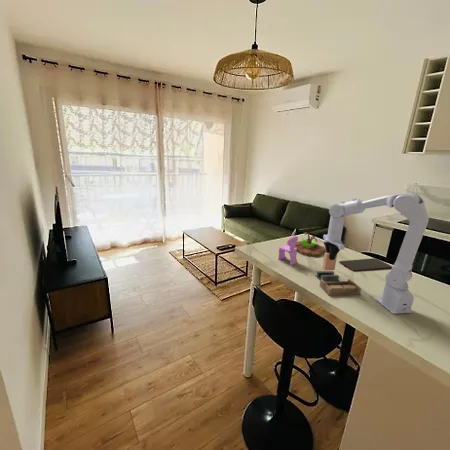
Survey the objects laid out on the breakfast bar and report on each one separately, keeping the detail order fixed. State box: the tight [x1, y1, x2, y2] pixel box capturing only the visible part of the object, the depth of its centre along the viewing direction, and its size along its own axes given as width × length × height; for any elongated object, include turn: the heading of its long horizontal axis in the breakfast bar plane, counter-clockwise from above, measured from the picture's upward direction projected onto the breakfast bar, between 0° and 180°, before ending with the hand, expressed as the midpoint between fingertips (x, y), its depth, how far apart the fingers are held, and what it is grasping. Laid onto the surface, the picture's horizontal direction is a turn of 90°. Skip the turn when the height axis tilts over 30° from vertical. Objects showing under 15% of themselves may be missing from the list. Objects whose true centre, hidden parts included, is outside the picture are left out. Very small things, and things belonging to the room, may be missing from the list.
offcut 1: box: [329, 285, 343, 290], centre depth 106 cm, size 2×5×3 cm, turn 97°
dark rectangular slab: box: [338, 257, 393, 273], centre depth 135 cm, size 12×2×25 cm
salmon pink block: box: [322, 252, 338, 271], centre depth 116 cm, size 2×5×8 cm, turn 97°
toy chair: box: [277, 235, 299, 266], centre depth 134 cm, size 8×9×15 cm
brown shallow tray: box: [319, 278, 362, 296], centre depth 108 cm, size 8×14×3 cm, turn 97°
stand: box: [314, 270, 340, 282], centre depth 118 cm, size 6×9×2 cm, turn 97°
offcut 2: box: [342, 285, 356, 290], centre depth 107 cm, size 2×5×3 cm, turn 97°
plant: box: [295, 232, 326, 258], centre depth 153 cm, size 20×20×11 cm
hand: (330, 258), depth 116 cm, fingers closed on salmon pink block, 2 cm apart
